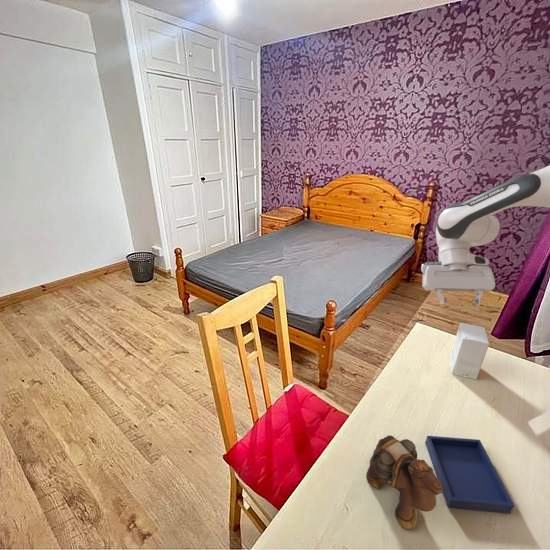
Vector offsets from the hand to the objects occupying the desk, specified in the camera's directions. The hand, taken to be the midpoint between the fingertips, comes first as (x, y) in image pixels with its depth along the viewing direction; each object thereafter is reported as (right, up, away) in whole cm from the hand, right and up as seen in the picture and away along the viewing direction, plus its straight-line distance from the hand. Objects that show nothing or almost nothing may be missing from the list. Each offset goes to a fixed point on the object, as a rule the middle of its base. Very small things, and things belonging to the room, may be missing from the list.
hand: (460, 304), depth 93 cm
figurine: (-33, -35, -32) cm, 57 cm away
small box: (-1, -19, -2) cm, 19 cm away
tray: (-17, -33, -29) cm, 47 cm away
